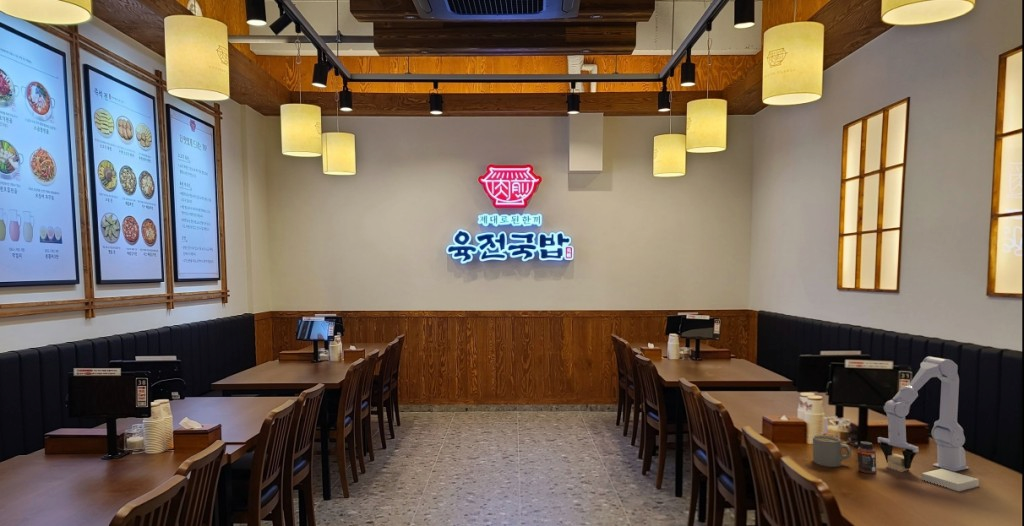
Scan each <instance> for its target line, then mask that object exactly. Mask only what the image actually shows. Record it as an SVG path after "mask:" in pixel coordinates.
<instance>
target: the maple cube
mask: <svg viewBox="0 0 1024 526" xmlns="http://www.w3.org/2000/svg"><path fill="white" fill-rule="evenodd" d="M887 468H888V469H890V468H891V469H890V470H893V469H894V471H896V470H897V472H900V473H904V472H907V470H908V471H910V468H908V469H906V468H905V462H904V456H903V455H900V454H897V453H892V455H888V463H887Z"/></svg>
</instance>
